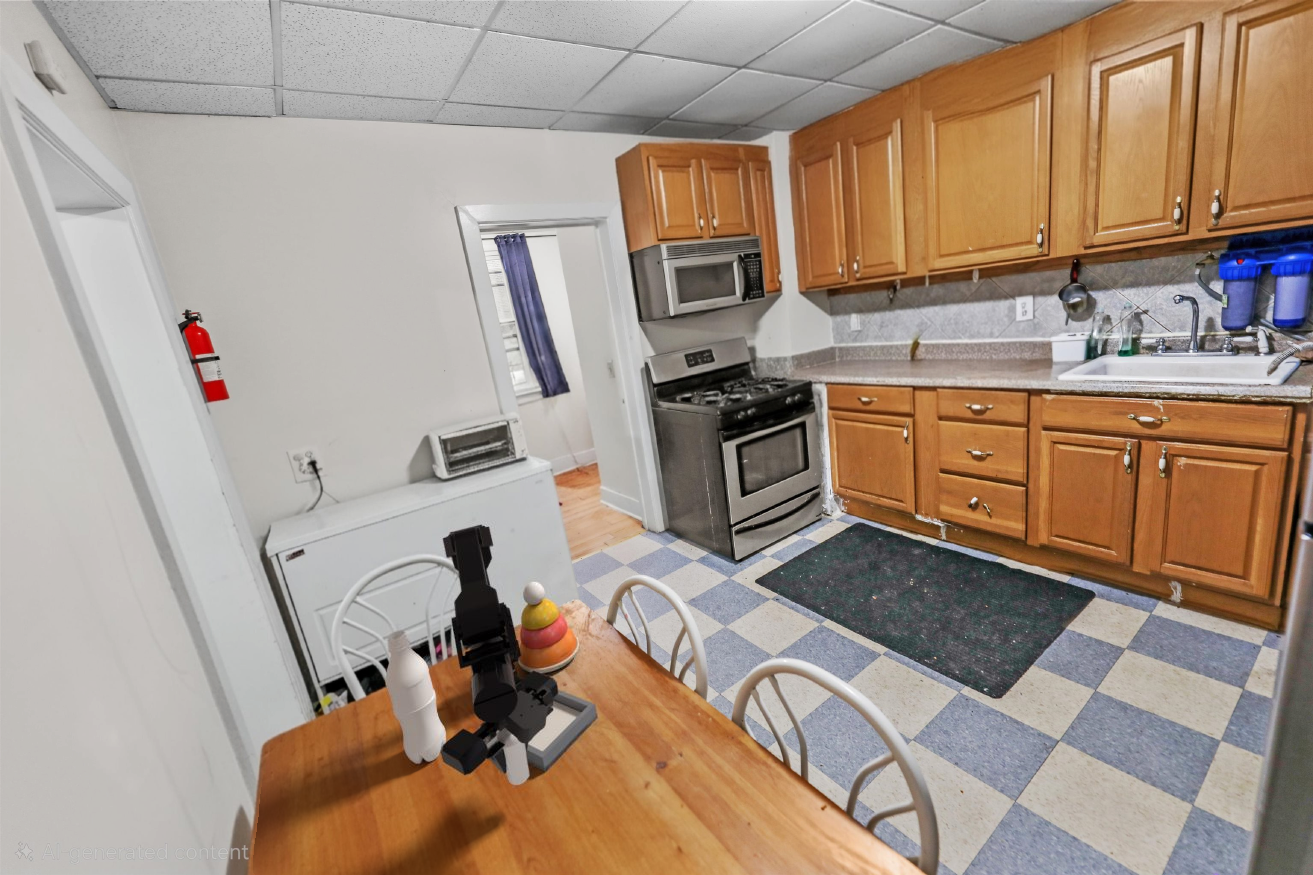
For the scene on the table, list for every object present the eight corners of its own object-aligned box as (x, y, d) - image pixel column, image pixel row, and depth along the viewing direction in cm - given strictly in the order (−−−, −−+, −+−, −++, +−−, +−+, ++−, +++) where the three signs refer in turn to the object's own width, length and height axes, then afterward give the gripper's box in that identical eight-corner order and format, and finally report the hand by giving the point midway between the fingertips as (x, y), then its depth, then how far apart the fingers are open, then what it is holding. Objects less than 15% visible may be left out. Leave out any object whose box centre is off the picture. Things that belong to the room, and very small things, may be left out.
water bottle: (434, 769, 97) (400, 647, 91) (399, 767, 98) (364, 647, 93) (456, 738, 104) (426, 623, 98) (423, 737, 105) (392, 623, 100)
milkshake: (519, 758, 90) (506, 708, 87) (539, 772, 86) (526, 720, 84) (496, 778, 86) (482, 727, 84) (516, 794, 83) (502, 741, 80)
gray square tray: (493, 744, 101) (489, 730, 100) (546, 696, 112) (543, 683, 111) (545, 772, 93) (542, 757, 92) (597, 717, 104) (595, 704, 103)
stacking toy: (561, 631, 135) (547, 560, 130) (592, 654, 124) (578, 577, 119) (508, 660, 126) (491, 584, 122) (536, 687, 115) (519, 605, 111)
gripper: (477, 739, 70) (501, 834, 74) (574, 655, 85) (590, 738, 88) (427, 712, 76) (452, 801, 80) (525, 638, 91) (542, 716, 95)
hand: (513, 762), depth 86 cm, fingers closed on milkshake, 4 cm apart
